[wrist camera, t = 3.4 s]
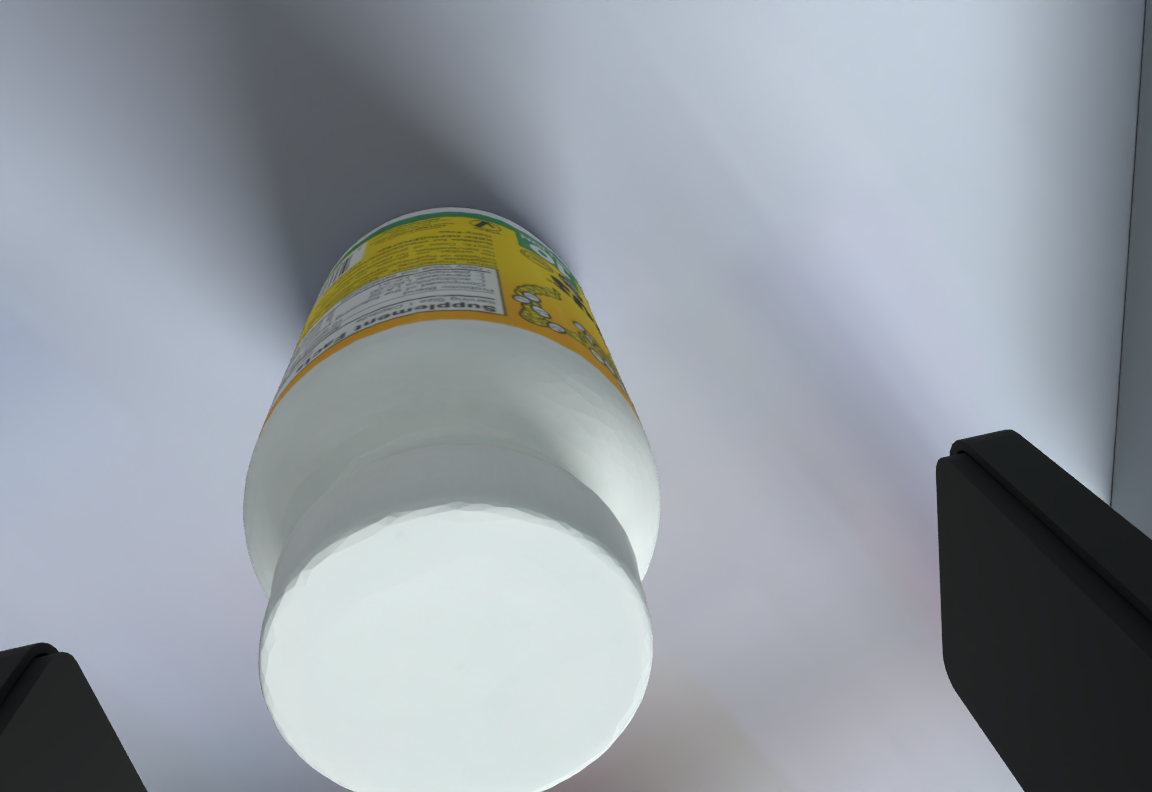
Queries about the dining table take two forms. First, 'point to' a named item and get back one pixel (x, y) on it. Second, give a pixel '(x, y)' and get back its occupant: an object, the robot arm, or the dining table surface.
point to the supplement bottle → (452, 519)
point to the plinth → (1138, 329)
